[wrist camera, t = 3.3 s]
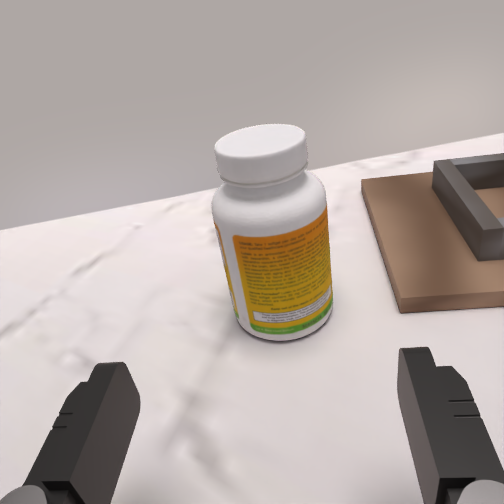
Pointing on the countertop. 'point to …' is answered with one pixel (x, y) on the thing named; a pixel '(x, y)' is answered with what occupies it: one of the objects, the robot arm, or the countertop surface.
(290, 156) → the supplement bottle
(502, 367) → the countertop surface
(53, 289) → the countertop surface
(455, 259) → the dock board
